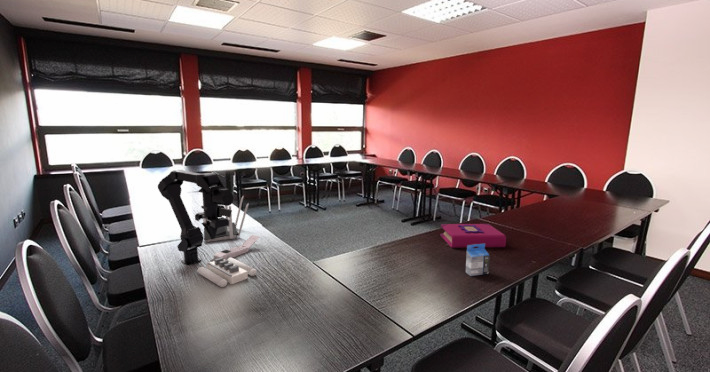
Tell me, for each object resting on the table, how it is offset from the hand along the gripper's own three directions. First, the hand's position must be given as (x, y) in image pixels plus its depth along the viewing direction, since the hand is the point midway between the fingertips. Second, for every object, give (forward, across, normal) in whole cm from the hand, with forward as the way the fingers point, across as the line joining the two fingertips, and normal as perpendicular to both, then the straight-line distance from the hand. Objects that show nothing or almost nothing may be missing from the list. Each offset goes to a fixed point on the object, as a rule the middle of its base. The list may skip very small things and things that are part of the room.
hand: (213, 238), depth 143 cm
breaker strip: (+13, -10, 0) cm, 16 cm away
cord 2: (+13, -10, -6) cm, 18 cm away
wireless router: (+13, +38, -26) cm, 48 cm away
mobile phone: (+14, +7, -14) cm, 21 cm away
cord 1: (+13, -10, +6) cm, 18 cm away
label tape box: (+13, -88, -70) cm, 113 cm away
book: (+14, -70, -108) cm, 129 cm away
